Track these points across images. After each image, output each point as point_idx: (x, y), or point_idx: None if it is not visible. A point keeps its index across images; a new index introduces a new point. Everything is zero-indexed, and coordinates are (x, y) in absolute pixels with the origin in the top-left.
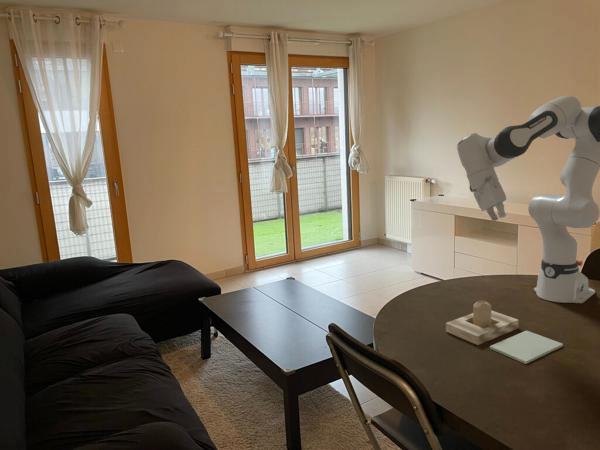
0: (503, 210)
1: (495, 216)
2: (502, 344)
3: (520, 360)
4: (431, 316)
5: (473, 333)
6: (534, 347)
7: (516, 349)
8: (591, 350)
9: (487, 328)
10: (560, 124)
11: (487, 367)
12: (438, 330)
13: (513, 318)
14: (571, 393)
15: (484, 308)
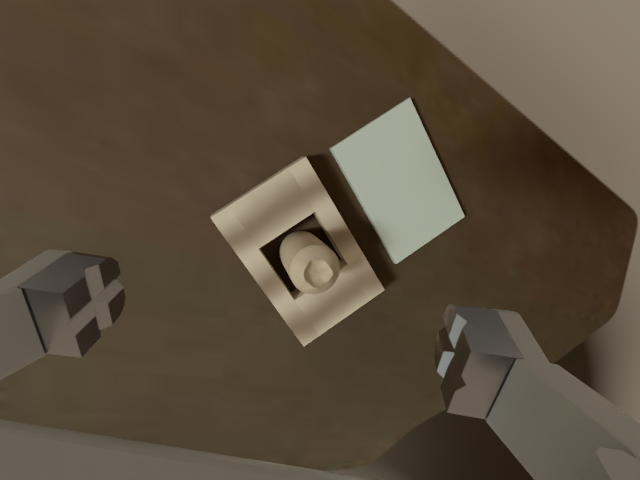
0: (561, 382)
1: (85, 300)
2: (393, 235)
3: (454, 222)
4: (200, 357)
5: (369, 295)
6: (416, 172)
7: (418, 214)
8: (433, 44)
9: (348, 256)
10: None
11: (459, 288)
12: (291, 351)
13: (295, 166)
14: (552, 182)
15: (338, 270)
